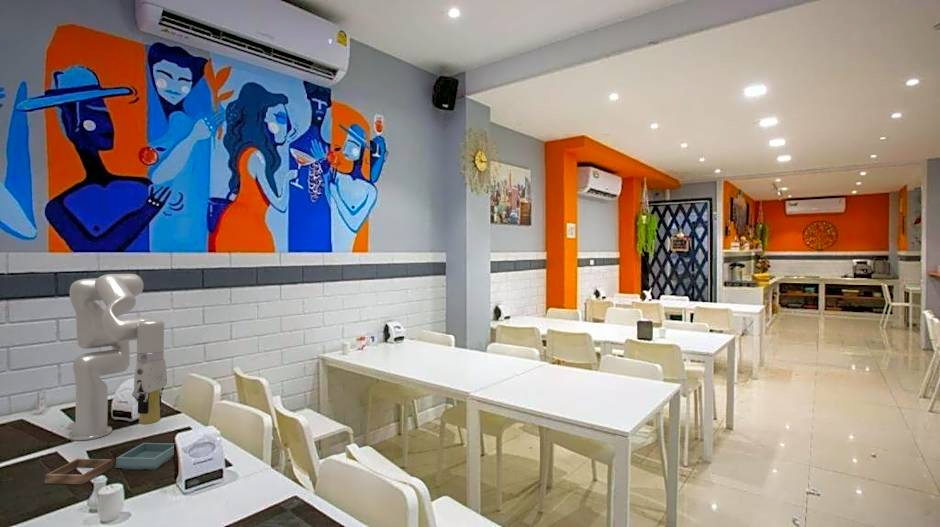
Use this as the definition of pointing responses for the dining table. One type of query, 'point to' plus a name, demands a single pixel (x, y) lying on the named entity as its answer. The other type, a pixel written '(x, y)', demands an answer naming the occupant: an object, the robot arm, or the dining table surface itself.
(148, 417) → the vase
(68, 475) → the frame
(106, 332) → the robot arm
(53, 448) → the dining table surface
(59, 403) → the dining table surface
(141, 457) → the tray
